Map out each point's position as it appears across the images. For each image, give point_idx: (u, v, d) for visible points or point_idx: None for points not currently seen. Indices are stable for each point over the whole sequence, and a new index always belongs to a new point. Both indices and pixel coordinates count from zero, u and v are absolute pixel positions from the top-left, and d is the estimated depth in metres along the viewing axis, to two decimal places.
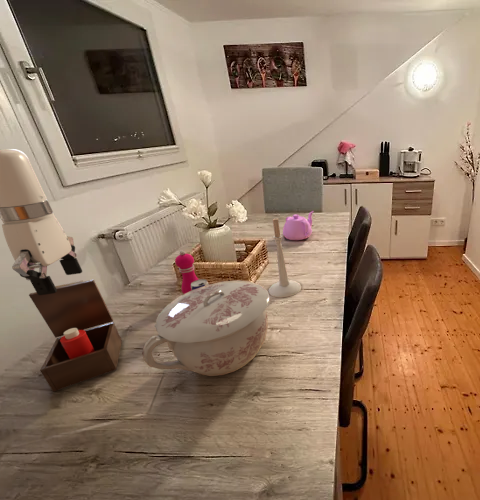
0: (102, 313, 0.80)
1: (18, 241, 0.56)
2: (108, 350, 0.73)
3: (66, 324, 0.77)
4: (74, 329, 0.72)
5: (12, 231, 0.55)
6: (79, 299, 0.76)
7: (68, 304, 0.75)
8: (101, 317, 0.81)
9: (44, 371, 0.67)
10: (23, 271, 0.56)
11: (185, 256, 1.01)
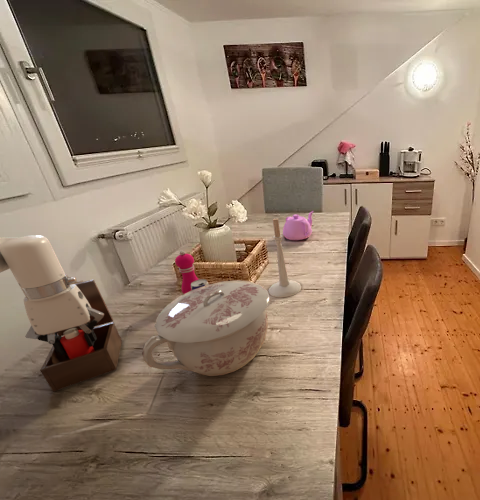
0: None
1: None
2: (108, 350, 0.73)
3: None
4: (74, 329, 0.72)
5: None
6: None
7: None
8: None
9: (44, 371, 0.67)
10: None
11: (185, 256, 1.01)
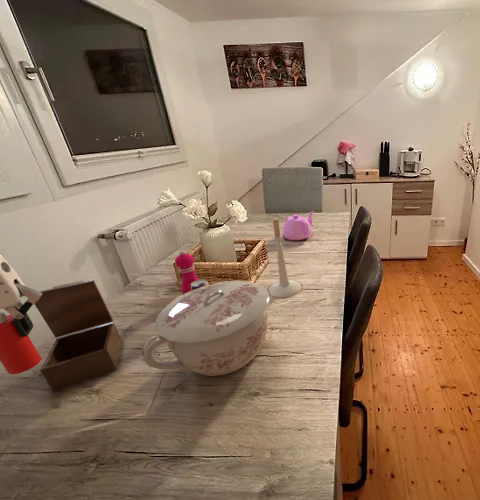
0: (102, 313, 0.80)
1: None
2: (108, 350, 0.73)
3: (66, 324, 0.77)
4: None
5: None
6: (79, 299, 0.76)
7: (68, 304, 0.75)
8: (101, 317, 0.81)
9: (44, 371, 0.67)
10: None
11: (185, 256, 1.01)
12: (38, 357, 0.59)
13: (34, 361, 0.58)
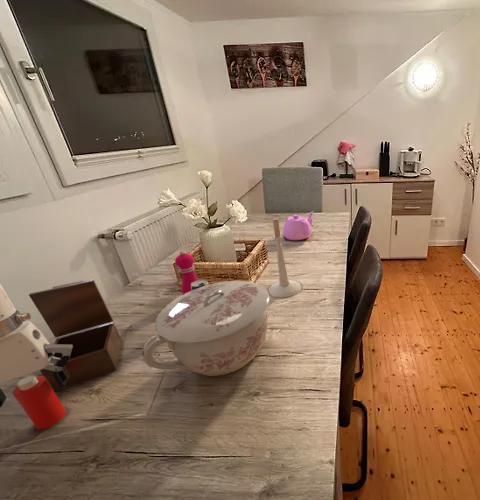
0: (102, 313, 0.80)
1: None
2: (108, 350, 0.73)
3: (66, 324, 0.77)
4: (31, 378, 0.58)
5: None
6: (79, 299, 0.76)
7: (68, 304, 0.75)
8: (101, 317, 0.81)
9: (44, 371, 0.67)
10: None
11: (185, 256, 1.01)
12: (64, 413, 0.63)
13: (61, 417, 0.62)
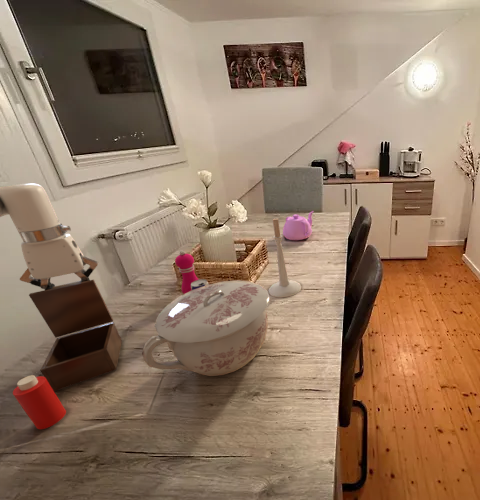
0: (102, 313, 0.80)
1: None
2: (108, 350, 0.73)
3: (66, 324, 0.77)
4: (31, 378, 0.58)
5: None
6: (79, 299, 0.76)
7: (68, 304, 0.75)
8: (101, 317, 0.81)
9: (44, 371, 0.67)
10: None
11: (185, 256, 1.01)
12: (64, 413, 0.63)
13: (61, 417, 0.62)
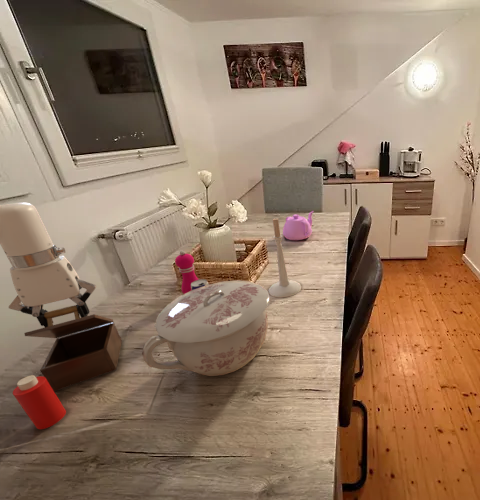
0: (103, 322, 0.79)
1: None
2: (108, 350, 0.73)
3: (66, 333, 0.76)
4: (31, 378, 0.58)
5: None
6: (80, 324, 0.72)
7: (68, 328, 0.72)
8: (102, 323, 0.80)
9: (44, 371, 0.67)
10: None
11: (185, 256, 1.01)
12: (64, 413, 0.63)
13: (61, 417, 0.62)
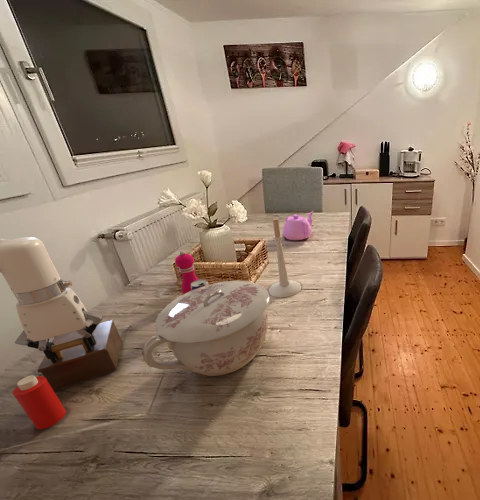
0: None
1: None
2: (108, 350, 0.73)
3: None
4: (31, 378, 0.58)
5: None
6: None
7: None
8: None
9: (44, 371, 0.67)
10: None
11: (185, 256, 1.01)
12: (64, 413, 0.63)
13: (61, 417, 0.62)
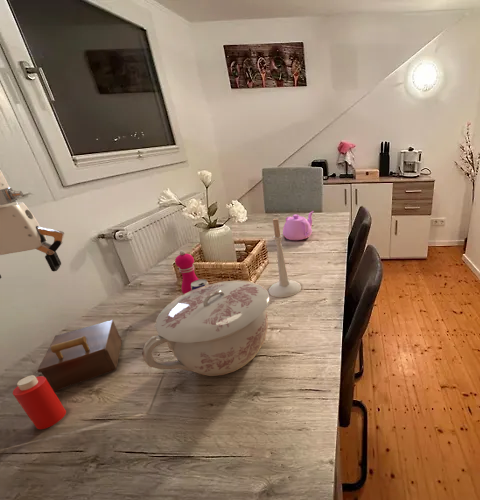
0: None
1: None
2: (108, 350, 0.73)
3: None
4: (31, 378, 0.58)
5: None
6: None
7: None
8: None
9: (44, 371, 0.67)
10: None
11: (185, 256, 1.01)
12: (64, 413, 0.63)
13: (61, 417, 0.62)
